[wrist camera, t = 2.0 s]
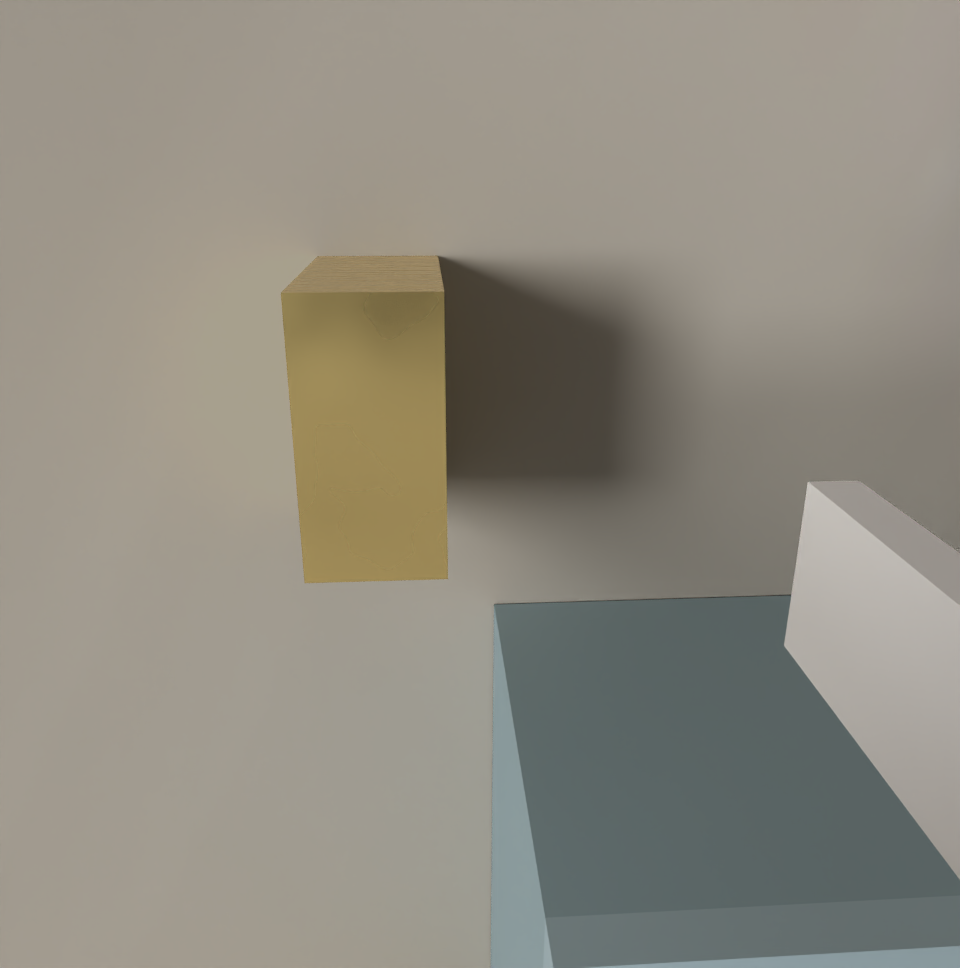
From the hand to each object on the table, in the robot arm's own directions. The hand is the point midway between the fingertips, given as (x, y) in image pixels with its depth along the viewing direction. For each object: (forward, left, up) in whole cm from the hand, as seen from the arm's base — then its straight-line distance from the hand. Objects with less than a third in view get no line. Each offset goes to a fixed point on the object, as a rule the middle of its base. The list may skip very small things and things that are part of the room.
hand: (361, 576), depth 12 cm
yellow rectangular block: (0, 0, -11) cm, 11 cm away
